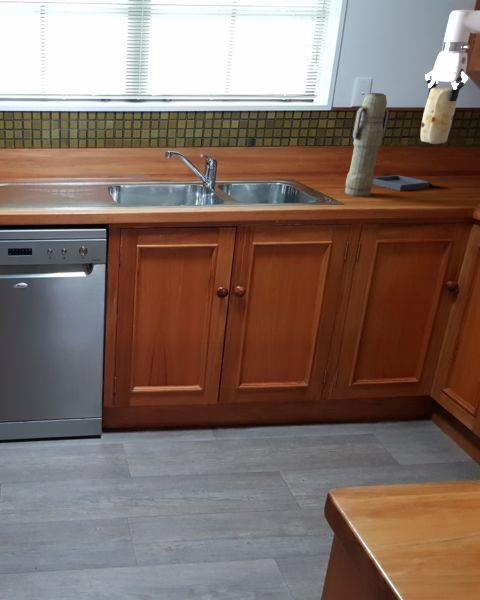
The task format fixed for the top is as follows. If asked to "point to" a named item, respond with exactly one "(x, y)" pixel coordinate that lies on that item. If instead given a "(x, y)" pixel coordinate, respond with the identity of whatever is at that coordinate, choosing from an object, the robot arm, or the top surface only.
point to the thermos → (366, 144)
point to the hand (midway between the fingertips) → (441, 99)
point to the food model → (437, 116)
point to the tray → (400, 182)
